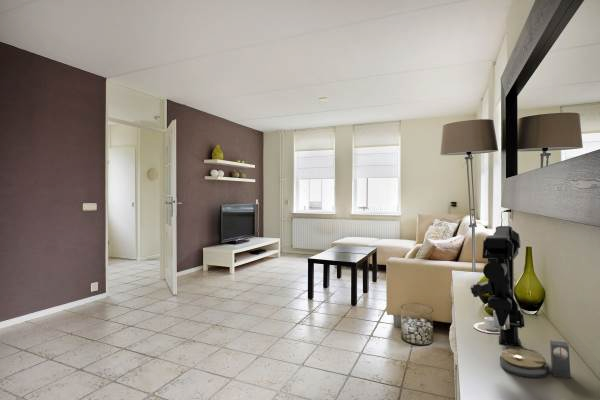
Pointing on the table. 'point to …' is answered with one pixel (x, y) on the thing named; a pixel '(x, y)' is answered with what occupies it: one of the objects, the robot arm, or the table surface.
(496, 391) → the table surface
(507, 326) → the cylinder
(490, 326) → the candle holder
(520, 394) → the table surface
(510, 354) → the pan
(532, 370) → the base
